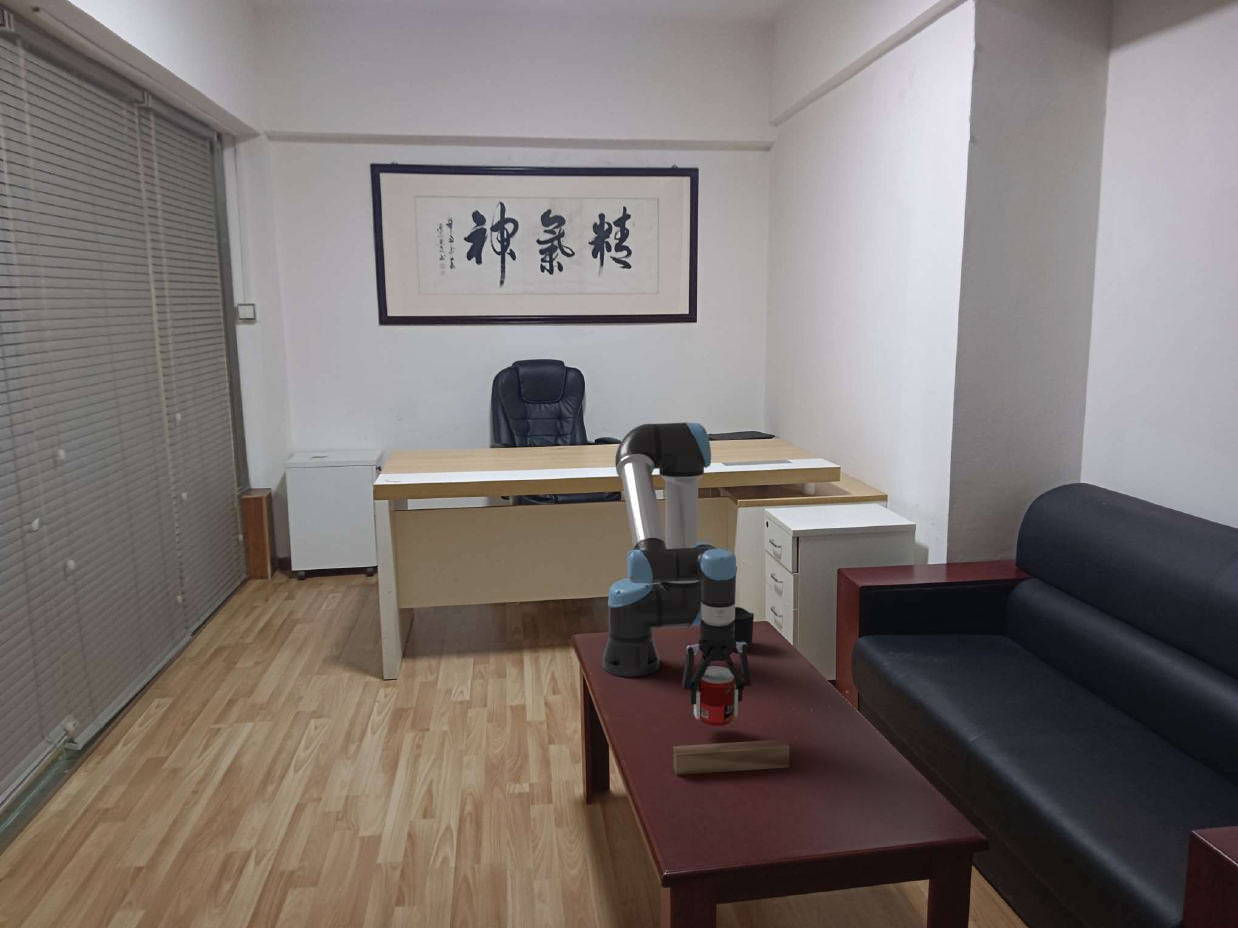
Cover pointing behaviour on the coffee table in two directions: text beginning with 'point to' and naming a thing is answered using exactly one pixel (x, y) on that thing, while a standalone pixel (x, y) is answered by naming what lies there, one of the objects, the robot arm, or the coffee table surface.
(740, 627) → the pen holder
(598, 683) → the coffee table surface
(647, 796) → the coffee table surface
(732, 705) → the canned food
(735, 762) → the board
